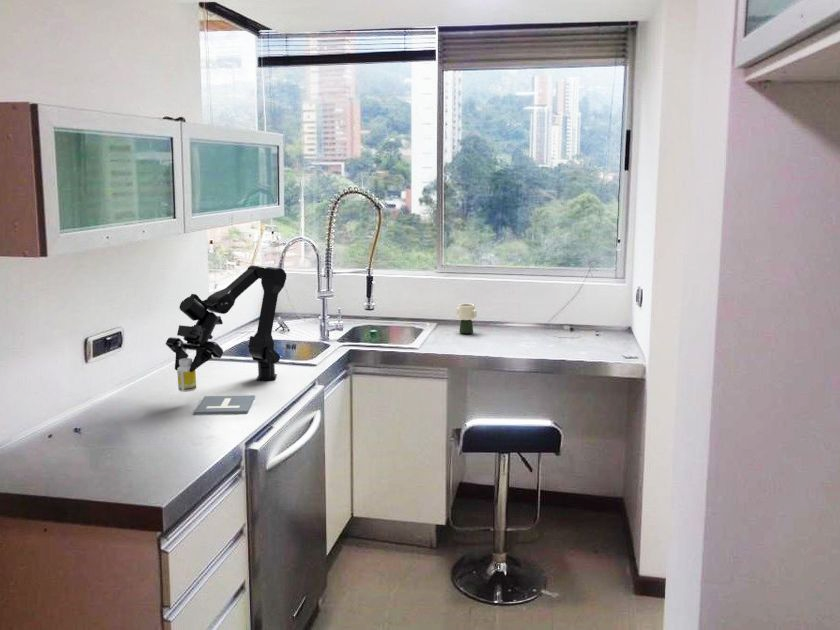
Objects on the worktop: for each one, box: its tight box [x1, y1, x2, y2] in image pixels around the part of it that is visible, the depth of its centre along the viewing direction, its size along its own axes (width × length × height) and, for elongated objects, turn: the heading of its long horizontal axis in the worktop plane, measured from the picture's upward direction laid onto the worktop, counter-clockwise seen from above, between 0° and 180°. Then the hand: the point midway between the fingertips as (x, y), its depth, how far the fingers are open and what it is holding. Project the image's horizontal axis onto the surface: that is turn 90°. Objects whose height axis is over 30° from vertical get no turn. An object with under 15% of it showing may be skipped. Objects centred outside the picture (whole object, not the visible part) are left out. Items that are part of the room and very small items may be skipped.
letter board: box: [193, 394, 256, 415], centre depth 240 cm, size 16×16×1 cm
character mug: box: [456, 303, 478, 335], centre depth 342 cm, size 11×7×13 cm, turn 49°
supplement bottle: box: [176, 357, 197, 393], centre depth 241 cm, size 5×5×10 cm
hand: (183, 370), depth 239 cm, fingers closed on supplement bottle, 5 cm apart
